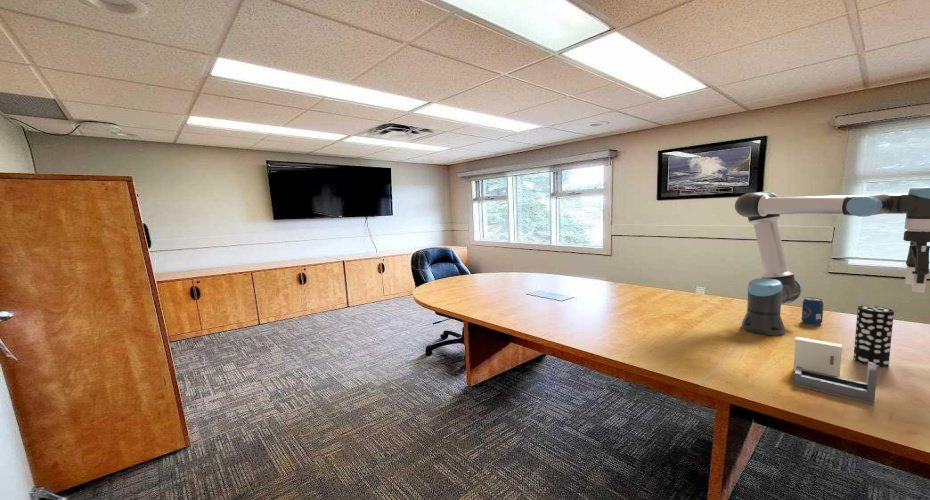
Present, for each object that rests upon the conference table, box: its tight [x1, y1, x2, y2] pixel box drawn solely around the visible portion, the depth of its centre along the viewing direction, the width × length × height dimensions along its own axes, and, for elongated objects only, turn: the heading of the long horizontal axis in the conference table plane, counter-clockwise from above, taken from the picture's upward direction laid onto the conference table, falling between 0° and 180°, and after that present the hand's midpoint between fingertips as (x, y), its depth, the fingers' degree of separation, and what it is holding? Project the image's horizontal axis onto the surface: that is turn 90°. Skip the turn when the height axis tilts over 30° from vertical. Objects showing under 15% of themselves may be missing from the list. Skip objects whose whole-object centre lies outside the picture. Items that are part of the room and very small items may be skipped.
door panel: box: [793, 336, 843, 377], centre depth 117 cm, size 11×3×12 cm, turn 42°
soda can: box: [801, 296, 825, 326], centre depth 162 cm, size 7×7×12 cm
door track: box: [793, 362, 878, 406], centre depth 108 cm, size 17×7×11 cm, turn 42°
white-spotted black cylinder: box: [853, 305, 895, 368], centre depth 123 cm, size 8×8×20 cm
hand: (914, 288), depth 125 cm, fingers open, 13 cm apart
